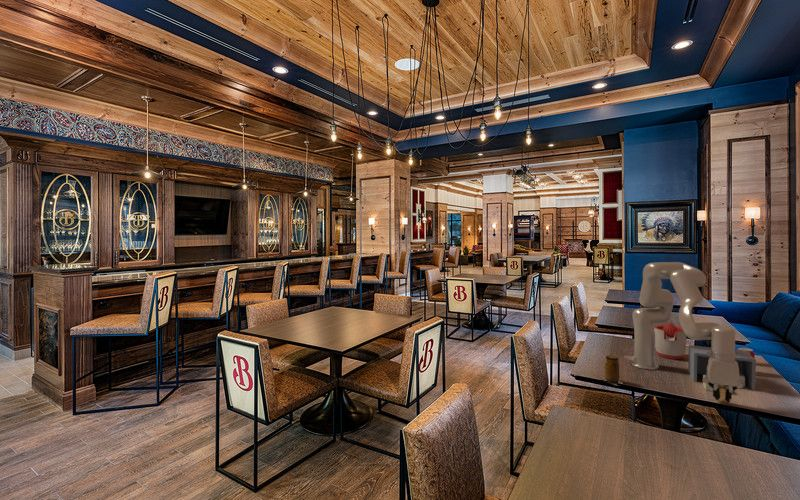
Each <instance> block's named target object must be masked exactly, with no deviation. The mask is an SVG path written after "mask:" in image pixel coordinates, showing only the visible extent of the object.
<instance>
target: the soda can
mask: <svg viewBox="0 0 800 500" xmlns="http://www.w3.org/2000/svg"><path fill="white" fill-rule="evenodd" d="M737 350H740V351H746V352H748V353H749V354H750V355H751V356H752V357H753V358H755V359H756V357H755V355H756V354H755V353H754V350H753V349H751V348H748V347H737Z"/></svg>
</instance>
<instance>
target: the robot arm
mask: <svg viewBox="0 0 800 500" xmlns="http://www.w3.org/2000/svg"><path fill="white" fill-rule="evenodd" d="M662 280H670V283H671V284H672V286H673V289H674V291H675V293H676V296H677V297H678V299H679V301H680V303H681V306H680V307H679V311H678V321H679V324H680V327H682V329H683V331H684V333H685V334H686V338H689V339H690V340H691V341H692V340H693V341H710V342H711V346H710V347H711V352H707V355H709V356H711V357H710V358H709V360H708V365H707V373H706V376H705V377H704V378H703V377H702V383H703V382H704V383H706V384H708V385H709V386H710V387H712V388H713V391H712V397H713V398H714V399H715V401H717V400H718V395H719V391H718V389H717V386H718V384H720V385H725V386H726V387H727V403H730V402H731V400H732V395H733V393H734V391H736V390H738V389H743V388H744V387H743V385H742V383H741V382H740V377H739V367H738V363H737V362H736V361H735V350H736V331H735V329H733V328H731V327H728V326H723V325H721V324H719V323H716V322H711V321H710V322H696V321H695V320H694V317H693V315H692V314H693V313H692V310H693V308H694V307H695V306H697V305H700V304H701V303H702V302H703V301H704V297H703V295H702V293H701V291H700V289H699V287H704V286H705V285H706V283H707V277H706V275H705V273H704V272H703V271H702V270H701V269H699V268H696V267H695V266H691V265H689V264H687V263H684V262H680V261H671V262H670V261H669V262H668V261H661V262H660V261H658V262H649V263H648V264H645V266H644V267H643V270H642V283H641V289H640V293H639V303H640V305H641V306H643V307H640V308H636V309H635V310H633V312H632V314H631V315H632V323H633V328H634V333H633V335H634V336H633V337H634V340H633V341H634V343H633V344H634V346H633V347H634V348H633V349H634V350H633V355H631V356H629V355H624V360H627V361H629V362H630V364H632V365H631V366H633V367H635V368H638V369H643V370H649V371H650V370H651V371H653V370H658V369H659V364H657V363H656V348H655V332H654V329H653V328H652V326H653V327H654V326H656V325H667V324H668V323H670V319H671V316H672V311H673V307H674V304H675V302H674V301H675V298H674V295H673V293H672V292H671V291H670V290H669V289H665V288H663V287H662V286H663V282H662Z"/></svg>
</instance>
